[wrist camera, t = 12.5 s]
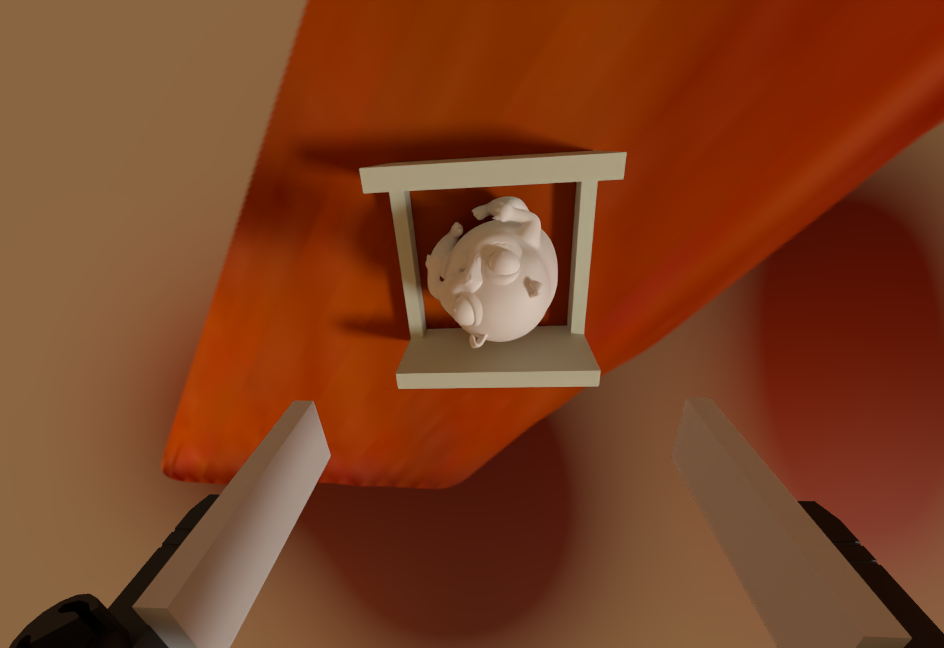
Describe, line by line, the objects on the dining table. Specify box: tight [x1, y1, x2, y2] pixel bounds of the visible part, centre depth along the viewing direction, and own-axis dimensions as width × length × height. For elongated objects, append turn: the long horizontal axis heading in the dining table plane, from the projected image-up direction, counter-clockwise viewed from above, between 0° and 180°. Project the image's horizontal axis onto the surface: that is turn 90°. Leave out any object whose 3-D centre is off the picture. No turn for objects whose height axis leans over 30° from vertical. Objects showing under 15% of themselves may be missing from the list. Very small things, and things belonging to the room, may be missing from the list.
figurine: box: [426, 197, 558, 348], centre depth 28 cm, size 10×10×12 cm
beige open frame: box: [359, 151, 627, 389], centre depth 30 cm, size 17×16×8 cm
